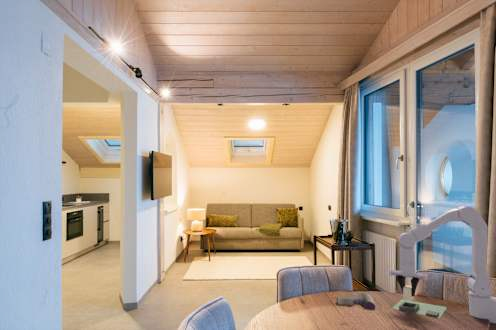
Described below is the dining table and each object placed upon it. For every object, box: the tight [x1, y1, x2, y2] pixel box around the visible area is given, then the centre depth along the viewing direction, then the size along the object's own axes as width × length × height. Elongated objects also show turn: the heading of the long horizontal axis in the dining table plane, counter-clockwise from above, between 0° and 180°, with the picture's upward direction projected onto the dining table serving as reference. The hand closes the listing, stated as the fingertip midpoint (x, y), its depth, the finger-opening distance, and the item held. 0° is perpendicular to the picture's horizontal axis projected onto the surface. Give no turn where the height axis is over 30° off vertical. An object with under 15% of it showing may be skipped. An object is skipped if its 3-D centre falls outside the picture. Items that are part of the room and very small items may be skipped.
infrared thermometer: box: [336, 292, 376, 310], centre depth 150 cm, size 5×12×15 cm
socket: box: [398, 302, 419, 314], centre depth 143 cm, size 6×8×2 cm
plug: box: [402, 284, 415, 301], centre depth 143 cm, size 3×4×5 cm, turn 142°
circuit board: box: [391, 298, 448, 319], centre depth 144 cm, size 18×16×2 cm
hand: (408, 295), depth 144 cm, fingers closed on plug, 3 cm apart
